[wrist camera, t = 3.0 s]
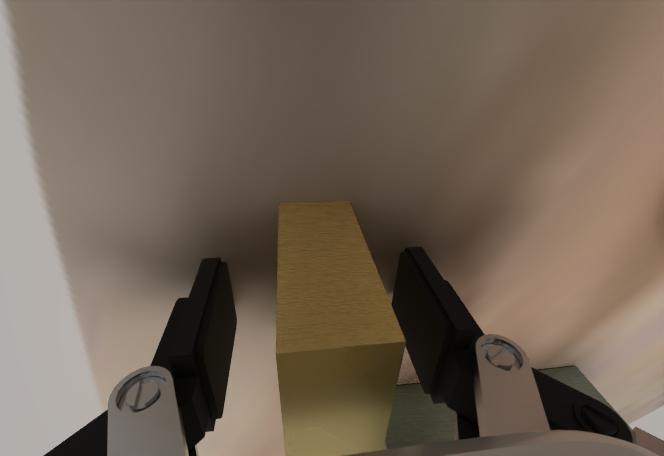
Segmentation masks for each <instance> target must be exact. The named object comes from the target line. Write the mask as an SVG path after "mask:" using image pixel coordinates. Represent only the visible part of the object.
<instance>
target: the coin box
mask: <svg viewBox="0 0 664 456" xmlns="http://www.w3.org/2000/svg"><path fill="white" fill-rule="evenodd" d="M538 371H540V372H542V373H544V374H546V375H548V376H550V377H552V378H554V379H556V380H558V381H560V382H562V383H564V384H566V385H568V386H570V387H572V388H574V389H576V390H578V391H580V392H582V393H584V394H586V395H588V396H590V397H592V398H594V399H596V400H598V401H600V402H602V403H603V404H605V405H607V406H608V407H610V408H611V409H612V410H613V411H615V410H614V409H613V407H612V406H611V405H610V404H609V403H608V402H607V401H606V400H605V398H604V397H603V396H602V395H601V394H600V393H599V392H598V391H597V389H596V388H595V387H594V386H593V385H592V384H591V383H590V382H589V380H588V379H587V378H586V377H585V376H584V375H583V374H582V373H581V371H580V370H579V369H578V368H577V367H576V366H572V367H563V368H554V369H545V370H538ZM615 412H616V411H615ZM616 413H617V412H616ZM617 414H618V413H617ZM618 415H619V414H618ZM619 416H620V415H619ZM620 417H621V416H620ZM623 421H624V420H623ZM624 422H625V421H624ZM625 423H626V422H625ZM626 424H627V423H626ZM627 426H628V428H629V429H631V428H630V427H629V425H628V424H627ZM631 430H632V429H631ZM447 441H454V439H453V421H452V409H450V408H448V407H447V405H446V403H439V404H433V401H432V399H431V396H430V394H425V392H424V390H423V388H422V386H421V383H420V384H411V385H402V386H396V391H395V395H394V400H393V405H392V409H391V414H390V419H389V423H388V428H387V433H386V437H385V442H384V447H383V450H387V449H394V448H402V447H409V446H417V445H424V444H432V443H439V442H447Z"/></svg>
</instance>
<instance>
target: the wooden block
mask: <svg viewBox="0 0 664 456" xmlns="http://www.w3.org/2000/svg"><path fill="white" fill-rule="evenodd" d="M405 344H406V340H405V338H404V335H403V333H402V330H401V328H400V325H399V323H398V321H397V318H396V316H395V313H394V311H393V308H392V306H391V303H390V301H389V298H388V296H387V293H386V291H385V288H384V286H383V283H382V281H381V278H380V276H379V273H378V271H377V268H376V266H375V264H374V261H373V259H372V256H371V254H370V251H369V249H368V246H367V244H366V241H365V239H364V236H363V234H362V231H361V229H360V226H359V224H358V221H357V219H356V216H355V214H354V212H353V209H352V207H351V204H350V202H349V201H333V202H305V203H279V220H278V271H277V321H276V360H277V371H278V381H279V391H280V402H281V412H282V422H283V433H284V443H285V454H286V456H343V455H350V454H358V453H365V452H372V451H380V450H383V447H384V442H385V437H386V433H387V428H388V423H389V419H390V414H391V409H392V405H393V400H394V395H395V391H396V386H397V381H398V377H399V372H400V367H401V363H402V358H403V353H404V348H405Z"/></svg>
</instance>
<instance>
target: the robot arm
mask: <svg viewBox="0 0 664 456" xmlns="http://www.w3.org/2000/svg"><path fill="white" fill-rule="evenodd" d="M392 308H393V311H394V313H395V316H396V318H397V321H398V323H399V325H400V328H401V330H402V333H403V335H404V338H405V340H406V344H405V346H406V348H407V351H408V353H409V356H410V358H411V361H412V363H413V366H414V368H415V371H416V373H417V376H418V378H419V381H420V383H421V386H422V388H423V390H424V392H425V394H430V396H431V399H432V401H433V404H439V403H446V405H447V407H448V408H450V409H452V421H453V439H454V441H447V442H439V443H432V444H424V445H417V446H409V447H402V448H394V449H387V450H380V451H372V452H365V453H358V454H350V455H343V456H664V441H663V440H661V439H659V438H657V437H655V436H653V435H651V434H649V433H647V432H645V431H643V430H641V429H639V428H637V427H635V428H634V429H633V430H631V429H629V428H628V426H627V424H626V423H625V422H624V421H623V419H622V418H621V417H620V416H619V415H618V414H617V413H616V412H615V411H613V410H612V409H611V408H610V407H608V406H607V405H605V404H603V403H602V402H600V401H598V400H596V399H594V398H592V397H590V396H588V395H586V394H584V393H582V392H580V391H578V390H576V389H574V388H572V387H570V386H568V385H566V384H564V383H562V382H560V381H558V380H556V379H554V378H552V377H550V376H548V375H546V374H544V373H542V372H540V371H538V370H536V369H534V368H532V367H531V365H530V362H529V359H528V357H527V355H526V353H525V352H524V351H523V350H522V348H521V347H520V346H518V345H517V344H516V343H515V342H513V341H511V340H510V339H508V338H506V337H503V336H500V335H494V334H488V335H484V333H483V332H482V330H481V329H480V327H479V326H478V325H477V323H476V322H475V320H474V319H473V317H472V316H471V314H470V313H469V311H468V310H467V308H466V307H465V305H464V304H463V302H462V301H461V299H460V298H459V296H458V295H457V294H456V292H455V291H454V289H453V288H452V286H451V285H450V283H449V282H448V281H446V280H444V279H443V278H442V276H441V275H440V273H439V272H438V270H437V269H436V267H435V266H434V264H433V263H432V261H431V260H430V258H429V257H428V255H427V254H426V252H425V251H424V249H423V248H422V247H407V248H405V251H404V252H401V253H400V257H399V263H398V269H397V275H396V281H395V287H394V293H393V299H392ZM236 325H237V318H236V311H235V306H234V300H233V294H232V289H231V283H230V277H229V271H228V266H227V262H221V259H220V258H207V259H203V260H202V262H201V264H200V267H199V270H198V273H197V276H196V278H195V281H194V284H193V287H192V290H191V292H190V295H189V298H179V299H178V300H177V301H176V303H175V306H174V308H173V311H172V313H171V316H170V318H169V321H168V323H167V326H166V328H165V331H164V333H163V336H162V338H161V341H160V343H159V346H158V348H157V351H156V353H155V356H154V358H153V361H152V363H151V366H148V367H144V368H141V369H138V370H136V371H134V372H132V373H130V374H129V375H128V376H126V377H125V378H124V379H122V380H121V381H120V382H119V383H118V384H117V386H116V387H115V388H114V390H113V391H112V393H111V395H110V398H109V403H108V410H107V411H105V412H104V413H102V414H101V415H100V416H98V417H97V418H95V419H94V420H93V421H91V422H90V423H88V424H87V425H86V426H84V427H83V428H82V429H80V430H79V431H77V432H76V433H75V434H73V435H72V436H70V437H69V438H68V439H66V440H65V441H63V442H62V443H61V444H59V445H58V446H57V447H55V448H54V449H53V450H51V451H50V452H48V453H47V454H45V455H44V456H199V455H198V450H197V445H196V444H197V443H198V442H199V441H201V440H202V439H203V438H204V437H205V432H208V431H214V426H215V421H216V419H219V418H221V417H222V414H223V409H224V402H225V396H226V389H227V383H228V377H229V370H230V364H231V358H232V351H233V345H234V338H235V332H236Z"/></svg>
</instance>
